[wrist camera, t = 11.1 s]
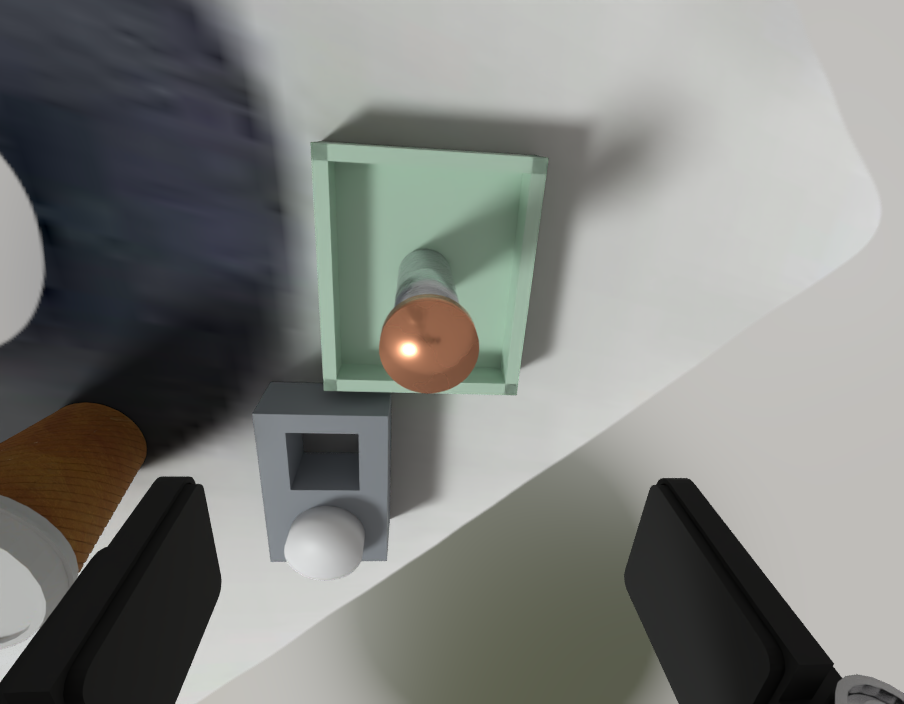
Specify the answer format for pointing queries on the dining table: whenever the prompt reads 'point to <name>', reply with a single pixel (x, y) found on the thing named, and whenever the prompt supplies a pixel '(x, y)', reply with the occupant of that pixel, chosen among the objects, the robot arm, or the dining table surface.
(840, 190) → the dining table surface
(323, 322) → the tray
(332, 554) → the block
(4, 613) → the disposable coffee cup
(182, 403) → the dining table surface
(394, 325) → the pin
